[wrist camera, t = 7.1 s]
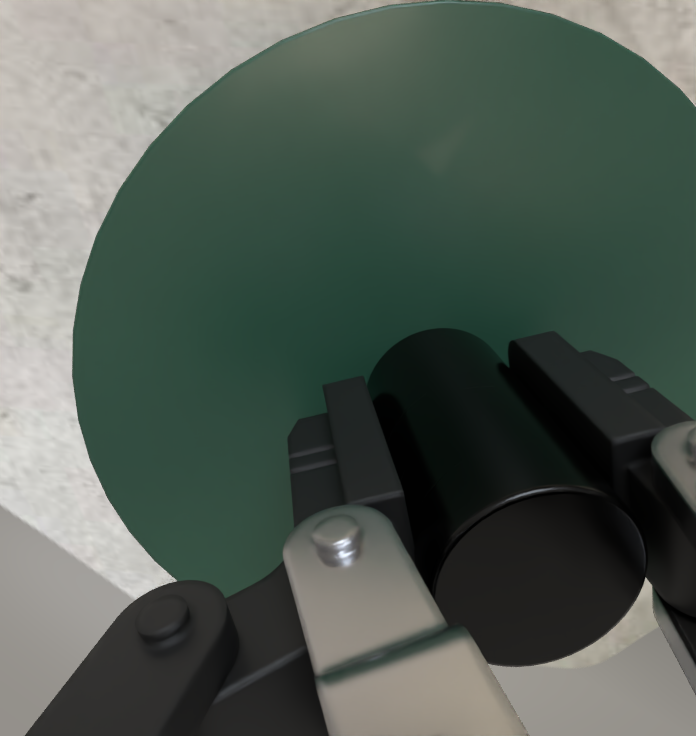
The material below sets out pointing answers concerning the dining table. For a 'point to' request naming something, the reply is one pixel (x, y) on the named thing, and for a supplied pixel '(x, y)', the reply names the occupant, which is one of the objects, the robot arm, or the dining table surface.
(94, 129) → the dining table surface
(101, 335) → the lid
